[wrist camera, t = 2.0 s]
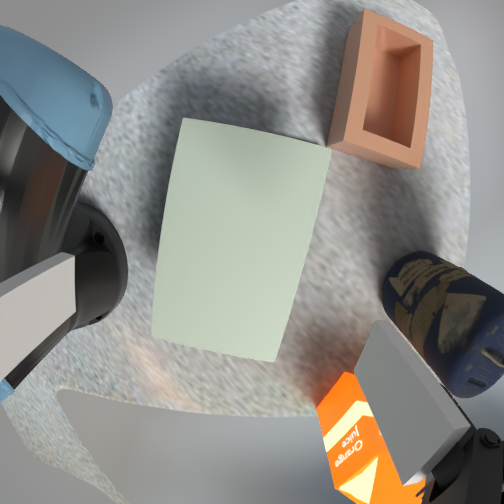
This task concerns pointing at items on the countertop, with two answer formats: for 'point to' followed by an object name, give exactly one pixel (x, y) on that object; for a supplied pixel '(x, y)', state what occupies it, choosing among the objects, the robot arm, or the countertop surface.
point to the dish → (383, 93)
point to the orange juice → (360, 449)
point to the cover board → (235, 237)
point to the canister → (448, 320)
